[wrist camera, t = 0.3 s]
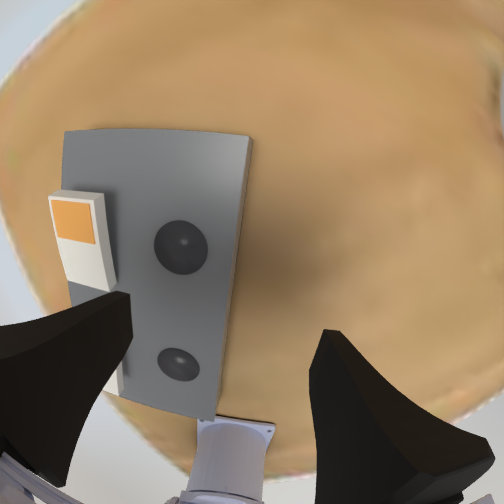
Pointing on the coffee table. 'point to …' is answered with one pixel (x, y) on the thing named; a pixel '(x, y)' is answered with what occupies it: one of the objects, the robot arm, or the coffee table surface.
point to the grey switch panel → (167, 251)
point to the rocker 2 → (115, 382)
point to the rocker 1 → (83, 237)
